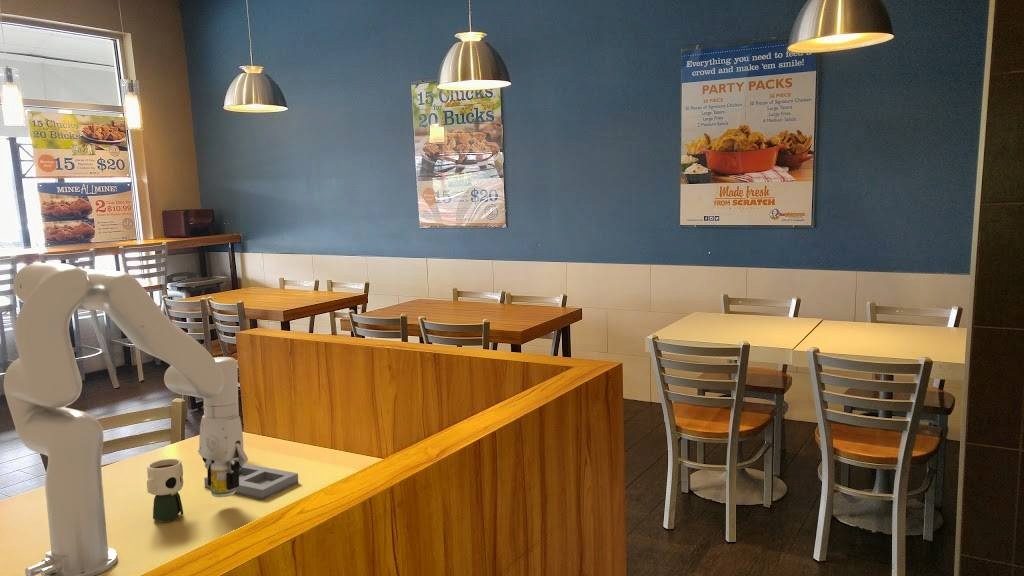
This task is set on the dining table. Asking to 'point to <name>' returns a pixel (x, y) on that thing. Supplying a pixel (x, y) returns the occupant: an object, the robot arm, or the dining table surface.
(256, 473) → the drink carrier
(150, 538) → the dining table surface
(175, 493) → the character mug
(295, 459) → the dining table surface
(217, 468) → the supplement bottle
